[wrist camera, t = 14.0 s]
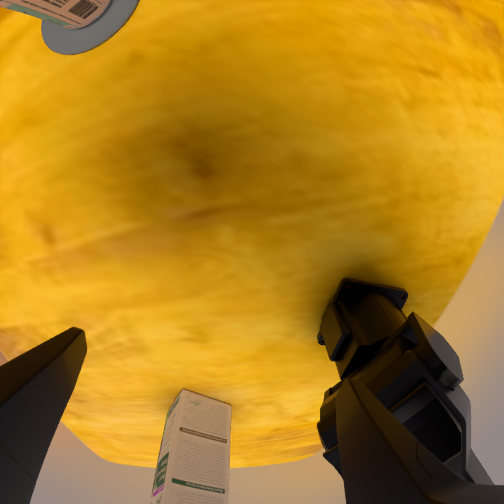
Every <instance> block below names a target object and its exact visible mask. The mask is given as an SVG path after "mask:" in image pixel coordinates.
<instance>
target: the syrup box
mask: <svg viewBox="0 0 504 504" xmlns="http://www.w3.org/2000/svg"><path fill="white" fill-rule="evenodd" d="M230 433H231V405H229V404H226V403H223V402H220V401H218V400H215V399H212V398H209V397H206V396H203V395H200V394H197V393H194V392H191V391H188V390H185V389H182V391H181V393H180V394H179V396H178V397H177V398H176V400H175V402H174V403H173V405H172V406H171V408H170V410H169V412H168V413H167V418H166V423H165V427H164V432H163V437H162V442H161V447H160V452H159V457H158V462H157V468H156V473H155V479H154V484H153V490H152V496H151V503H150V504H228V497H229V467H230Z"/></svg>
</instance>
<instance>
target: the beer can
mask: <svg viewBox="0 0 504 504" xmlns="http://www.w3.org/2000/svg"><path fill="white" fill-rule="evenodd" d="M110 1H111V0H0V7H3V8H7V9H11V10H14V11H18V12H21V13H24V14H28V15H31V16H34V17H37V18H40V19H43V20H46V21H49V22H52V23H54V24H57V25H60V26H62V27H65V28H67V29H79V28H82V27H85V26H87V25H88V24H90V23H92V22H93V21H94V20H96V19H97V18H98V17H99V16H100V15H101V14H102V13H103V12H104V11H105V9H106V8H107V6H108V5H109V3H110Z"/></svg>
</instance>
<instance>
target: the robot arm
mask: <svg viewBox="0 0 504 504" xmlns="http://www.w3.org/2000/svg"><path fill="white" fill-rule="evenodd" d="M346 284H349V285H348V286H347V287H344V286H345V285H346ZM403 294H404V295H403ZM401 295H403V296H402V297H401ZM407 298H408V293H407V291H406V290H405V289H400V288H395V287H390V286H385V285H379V284H374V283H369V282H364V281H359V280H354V279H348V278H346V279H343V280H342V281H341V283H340V285H339V288H338V290H337V293H336V295H335V298H334V300H333V301H332V302H331V303H330V304H329V306H328V309H327V311H326V314H325V316H324V318H323V321H322V323H321V325H320V329H321V331H320V333H319V335H318V338H317V340H318V343H319V344H320V345H325V346H326V349H327V353H328V356H329V359H330V360H331V361H335V363H336V366H337V370H338V373H339V376H340V379H341V381H340V382H339V383H337V384H336V385H335V386H334V387H332V388H329V389H328V390H327V391H325V394H324V401H323V404H322V406H321V408H320V421H319V422H318V423H317V430H318V433H319V437H320V440H321V443H322V445H323V447H324V448H325V450H326V452H324V453H323V457H324V458H325V459H326V460H327V461H328V462H329V463H331V464H332V465H333V466H334V467H335V469H336V470H337V471H338V473H339V474H340V475H341V477H342V479H343V481H344V489H345V497H346V504H504V485H494V483H493V482H492V480H491V479H490V477H489V476H488V474H487V472H486V471H485V469H484V468H483V466H482V465H481V463H480V462H479V460H478V459H477V457H476V456H475V454H474V453H473V451H472V449H471V405H470V400H469V398H468V397H467V395H466V394H465V392H464V391H463V390H462V388H461V387H460V385H459V384H460V383H461V382H462V381H463V374H462V369H461V366H460V361H459V357H458V355H457V354H456V352H455V351H454V350H453V349H452V347H451V346H450V345H449V343H448V342H447V341H446V340H445V338H444V337H443V336H442V335H441V334H439V333H438V332H437V331H436V330H435V329H434V328H432V327H431V326H430V325H429V324H428V323H426V322H425V321H424V320H423V319H422V318H420V317H419V316H418V315H417V314H416V313H414V312H412V313H411V314H410V315H409V316H408V317H406V316H405V314H404V313H403V311H402V308H403V306H404V304H405V302H406V300H407ZM407 318H408V319H407ZM322 339H324V340H322ZM86 353H87V343H86V337H85V332H84V330H82V329H79V328H76V327H71V328H69V329H68V330H66V331H64V332H62V333H60V334H58V335H56V336H55V337H53V338H51V339H49V340H47V341H45V342H43V343H42V344H40V345H38V346H36V347H34V348H32V349H31V350H29V351H27V352H25V353H23V354H21V355H20V356H18V357H16V358H14V359H12V360H11V361H9V362H7V363H5V364H3V365H1V366H0V504H30V500H31V497H32V494H33V491H34V488H35V485H36V481H37V478H38V475H39V473H40V470H41V467H42V464H43V461H44V459H45V456H46V454H47V451H48V448H49V446H50V443H51V441H52V438H53V436H54V433H55V431H56V429H57V426H58V424H59V422H60V419H61V417H62V415H63V412H64V410H65V408H66V406H67V403H68V401H69V399H70V397H71V395H72V392H73V390H74V388H75V385H76V382H77V379H78V376H79V373H80V370H81V367H82V364H83V362H84V359H85V356H86Z"/></svg>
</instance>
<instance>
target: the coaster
mask: <svg viewBox="0 0 504 504" xmlns="http://www.w3.org/2000/svg"><path fill="white" fill-rule="evenodd" d="M138 3H139V0H111V1H110V3H109V5H108V6H107V8H106V9H105V11H104V12H103V13H102V14H101V15H100V16H99V17H98V18H97V19H96V20H94V21H93V22H92V23H90V24H88V25H87V26H85V27H82V28H79V29H67V28H65V27H62V26H60V25H57V24H54V23H52V22H49V21H46V20H43V19H42V27H41V30H42V36H43V40H44V42H45V44H46V45H47V46H48V47H49V48H50V49H51V50H53V51H54V52H57V53H60V54H65V55H75V54H80V53H84V52H87V51H89V50H92V49H94V48H96V47H98V46H99V45H101V44H102V43H104V42H106V41H107V40H108V39H109V38H111V37H112V36H113V35H114V34H115V33H117V32H118V31H119V30H120V29H121V28H122V27H123V25H124V24H125V23H126V22H127V21H128V19H129V18H130V17H131V15H132V14H133V12H134V10H135V9H136V7H137V5H138Z"/></svg>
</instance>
